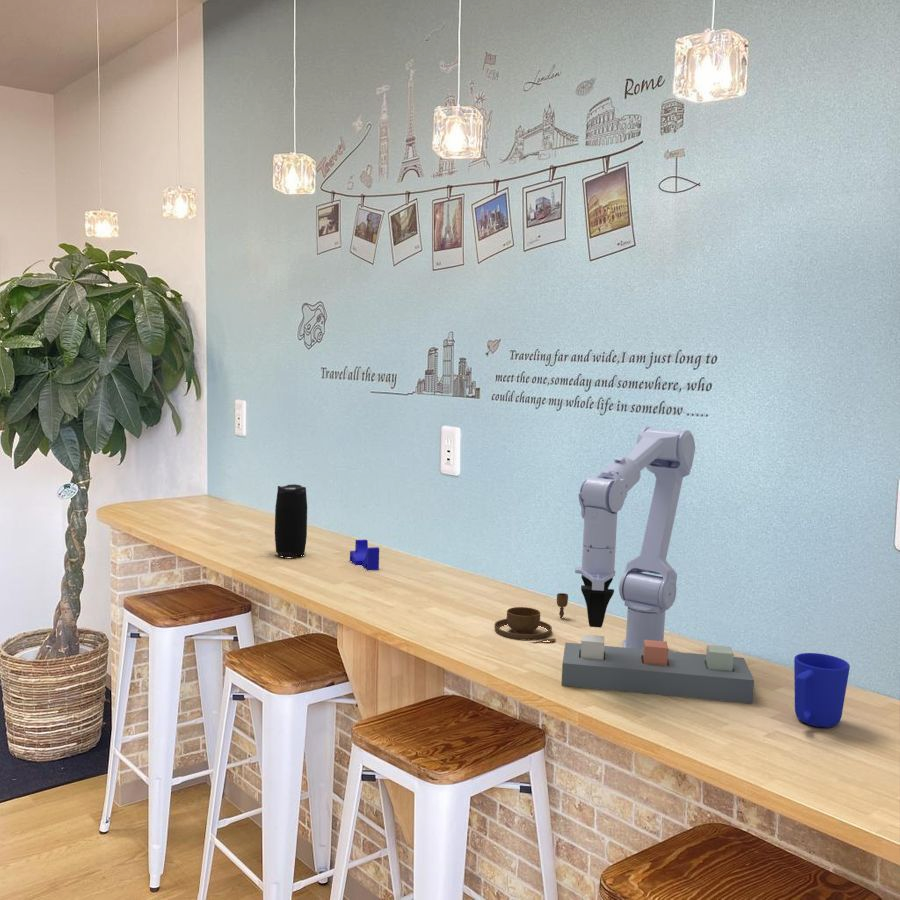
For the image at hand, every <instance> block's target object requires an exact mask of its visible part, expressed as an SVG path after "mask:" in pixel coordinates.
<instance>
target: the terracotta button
mask: <svg viewBox="0 0 900 900" xmlns="http://www.w3.org/2000/svg"><path fill="white" fill-rule="evenodd" d="M668 651H669V646H668V641H665V640H664V641H655V640H644V646H643V663H644V664H655V665H666V666H667V661H668Z"/></svg>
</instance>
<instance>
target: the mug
mask: <svg viewBox="0 0 900 900" xmlns="http://www.w3.org/2000/svg"><path fill="white" fill-rule="evenodd" d="M793 659H794V660H793V663H794V664H793V665H794V666H793V667H794V668H793V670H794V671H793V672H794V673H793V676H794V677H793V678H794V679H793V680H794V713H795V717H796V718H797V719H798V720H799V721H801V722H802V723H805V724H807V725H810V726H813V727H817V728H832V727H836V726H837V725H838V724H839V723H840V722H841V719H842V715H843V709H844V704H845V700H846V699H845V697H846V692H847V686H848V681H849V675H850V668H851V665H850V663H849V662H847V661H846V660H845V659H842V658H840V657H838V656H835V655H834V656H833V655H829V654H825V653H817V652H816V653H815V652H805V653H804V652H803V653H799V654H796V655H795V656H794V658H793Z"/></svg>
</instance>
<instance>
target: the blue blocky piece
mask: <svg viewBox="0 0 900 900" xmlns="http://www.w3.org/2000/svg"><path fill="white" fill-rule="evenodd" d="M368 541H369V540H367V539H355V545H354V547H355V550H350V551H349V562H350V561H352V562H351V564H353V563H354V564H355V565H362V566H363V567H362V566H361V567H362V568H364V569H365V568H366V569H367V570H366V569H365V570H366V571H368V570H371V571H379V569H380V547H378V546H373V547H372V546H371V547H369V546H368V545H369V543H368ZM354 564H353V565H354ZM355 565H354V566H355Z"/></svg>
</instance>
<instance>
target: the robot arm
mask: <svg viewBox="0 0 900 900" xmlns="http://www.w3.org/2000/svg"><path fill="white" fill-rule="evenodd" d="M695 453H696V443H695V438H694V436H693V433H692V432H691V431H690V430H688V429H683V430H681V429H680V430H678V429H667V428H665V429H664V428H656V427H655V428H654V427H650V426H645V427H643V428H642V429H641V431H639V432H638V434H637V438H636V445H635V446H634V448H632V450H631V451H630V452H629V454H628V455H627V456H617V457H615V458H614V459H613V460H614V461H612V462H611V463H610V464H609V465H608V466H607V467H606V468H605V469H604V470H603V471H602V472H600V473H599V474H598V475H597V476H595V477H593V476H590V477H588V478H587V479H585V480H584V481H583V482H582V483H581V485H580V487H579V488H580V489H579V492H578V502H579V505H580V508H581V509H580V513H581V514H580V515H581V518H582V519H583V535H582V536H583V537H582V538H583V539H582V555H581V556H582V557H581V559H582V560H581V567H578V566H576V567H574V568H575V569H574V573H575V574H578V575H581V577H580V578H581V579H582V582H583V584H584V585H581V587H580V590H581V593H582V596H583V599H584V601H585V606H586V612H587V621H588V625H589V627H590V628H603V624H604V620H605V617H606V612H607V608H608V605H609V603H610V601H611V599H612V597H613V595H614V593H615V589H613V588H609V587H610V586H611V583H612V582H613V580H614V577H616V570H615V568H616V567H615V563H616V548H617V547H616V546H617V545H616V544H617V526H618V512H619V511H621V510H622V509H623V506H624V504H625V500H626V499H627V496H628V493H629V491H630V490H631V489H632V488H633V487H634V486H635V485H636V484H637V483H639V481H640V478H641V475H642V474H641V471H643V470H644V469H645V468H646V469H647V471H649V473H653V474H654V477H655V484H654V487H653V488H654V489H653V493H652V497H651V502H650V507H649V513H648V516H647V520H646V526H645V531H644V535H643V541H642V545H641V549H640V554H639V555H638V556H636V557H635V558H633V559H631V560H630V561H628V562H627V563H626V566H625V569H624V571H623V574H622V576H621V578H620V580H619V584H618V593H619V596H620V598H621V600H622V601H623V602H624V606H625V607H627V610H626V611H627V614H626V615H627V616H626V617H627V618H626V629H625V631H626V634H625V639H622V647H624V648H636V649H643V646H644V640H655V641H665V640H664V639H665V621H666V611H668V610H669V609H670V608H672V606H673V605H674V603H675V601H676V598H677V579H678V574H677V573H676V571H675V569H674V568H673V567H672V566H671V565H670V563H669V562H668V561H667V556H668V552H669V546H670V542H671V536H672V533H673V528H674V523H675V519H676V518H675V517H676V514H677V508H678V504H679V498H680V493H681V489H682V484H683V479H684V478H685V477H687V476H690V474H691V470H692V467H693V463H694V458H695ZM660 575H661V576H660Z"/></svg>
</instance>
